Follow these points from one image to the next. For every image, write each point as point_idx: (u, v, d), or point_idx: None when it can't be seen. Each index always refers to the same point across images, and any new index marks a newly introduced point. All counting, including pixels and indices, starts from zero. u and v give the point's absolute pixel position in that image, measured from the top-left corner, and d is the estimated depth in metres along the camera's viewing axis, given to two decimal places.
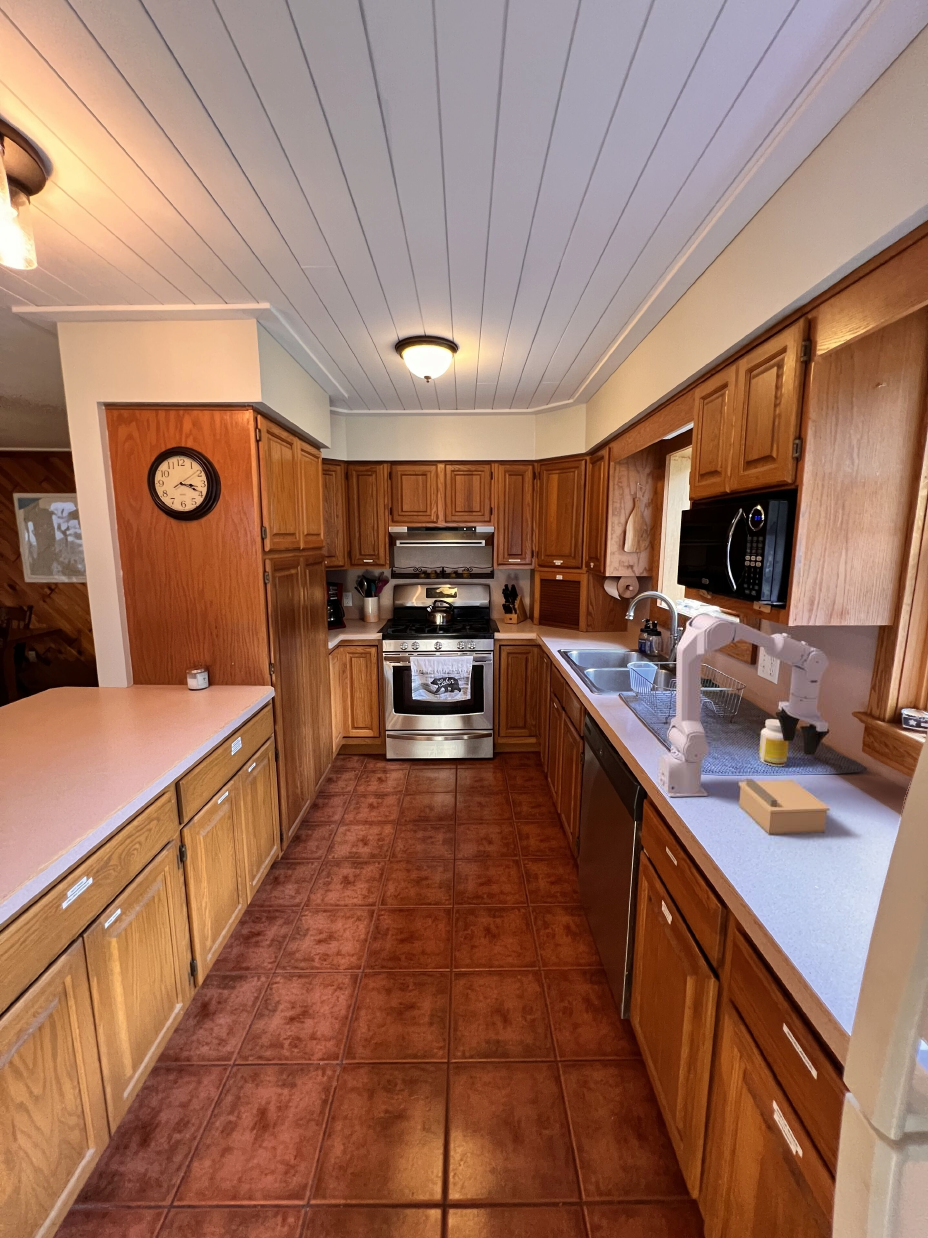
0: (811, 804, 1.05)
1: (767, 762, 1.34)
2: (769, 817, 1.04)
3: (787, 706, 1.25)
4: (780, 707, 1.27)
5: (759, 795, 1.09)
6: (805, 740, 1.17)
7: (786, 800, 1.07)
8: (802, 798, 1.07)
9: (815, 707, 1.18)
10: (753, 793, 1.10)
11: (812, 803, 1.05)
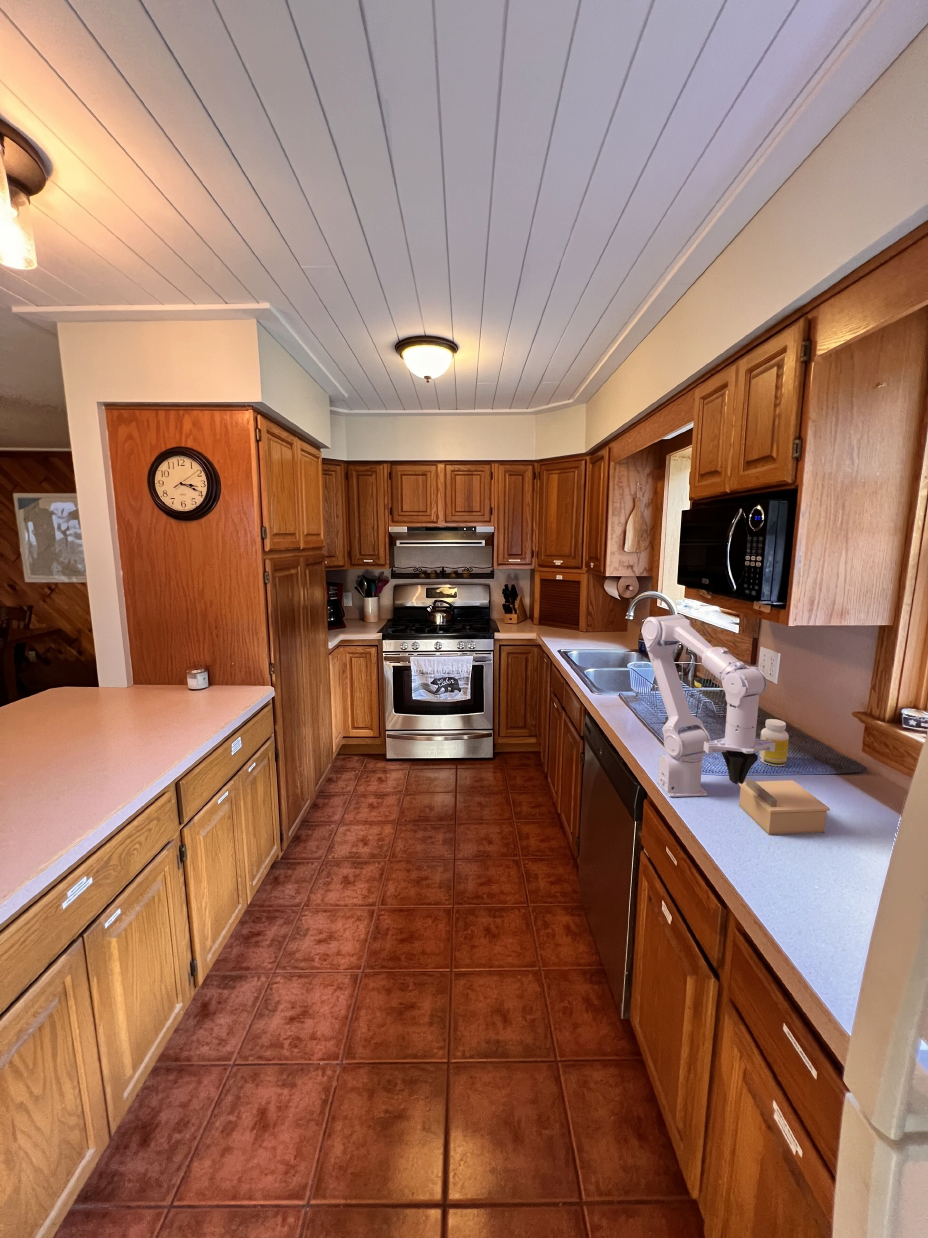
0: (811, 804, 1.05)
1: (767, 762, 1.34)
2: (769, 817, 1.04)
3: (757, 741, 1.07)
4: None
5: (759, 795, 1.09)
6: None
7: (786, 800, 1.07)
8: (802, 798, 1.07)
9: (731, 736, 1.05)
10: (753, 793, 1.10)
11: (812, 803, 1.05)
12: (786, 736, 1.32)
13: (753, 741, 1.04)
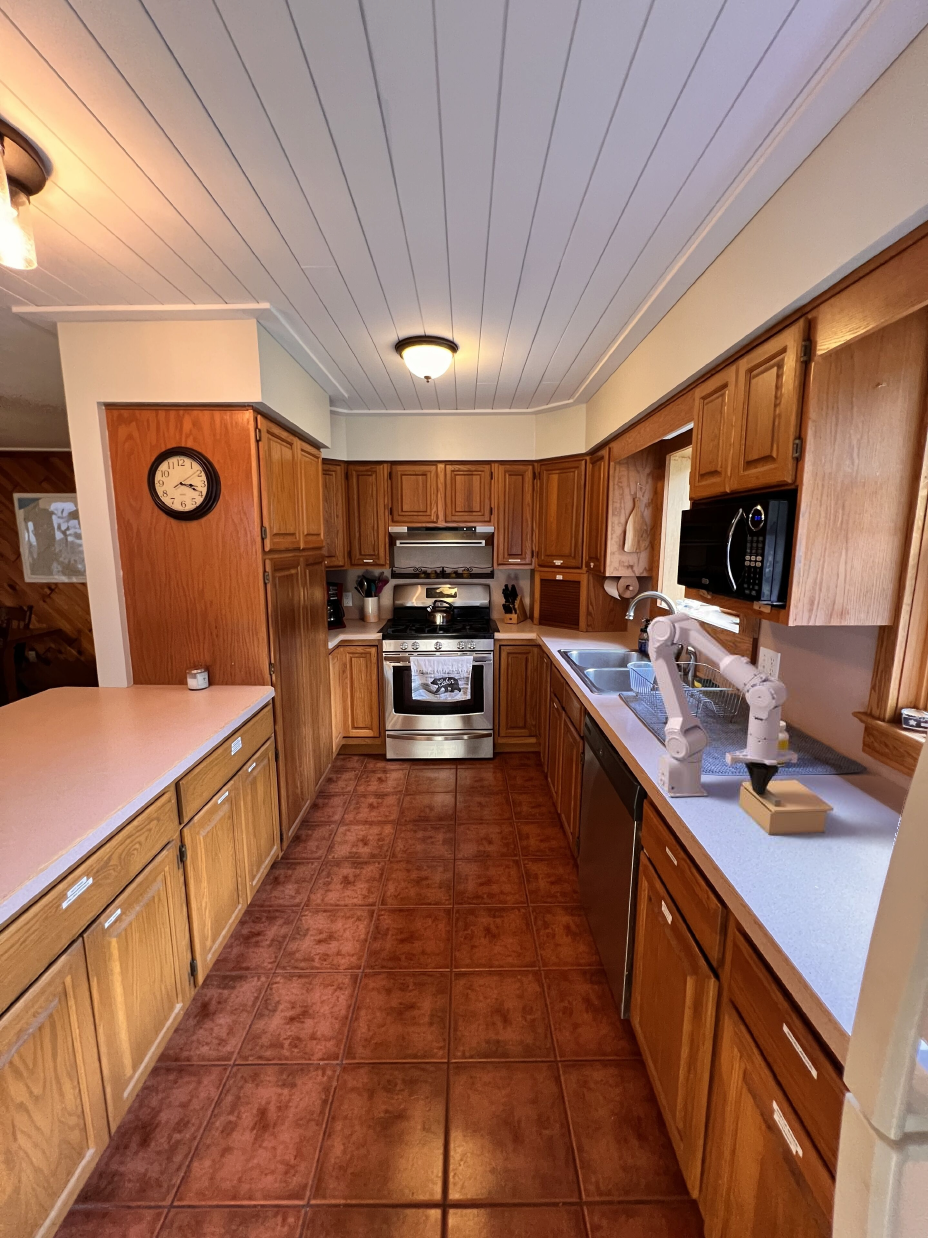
0: (815, 804, 1.05)
1: None
2: (769, 817, 1.04)
3: (779, 752, 1.08)
4: None
5: (763, 795, 1.09)
6: None
7: (790, 800, 1.07)
8: (806, 798, 1.07)
9: (753, 747, 1.06)
10: None
11: (816, 803, 1.05)
12: (786, 736, 1.32)
13: (775, 753, 1.05)
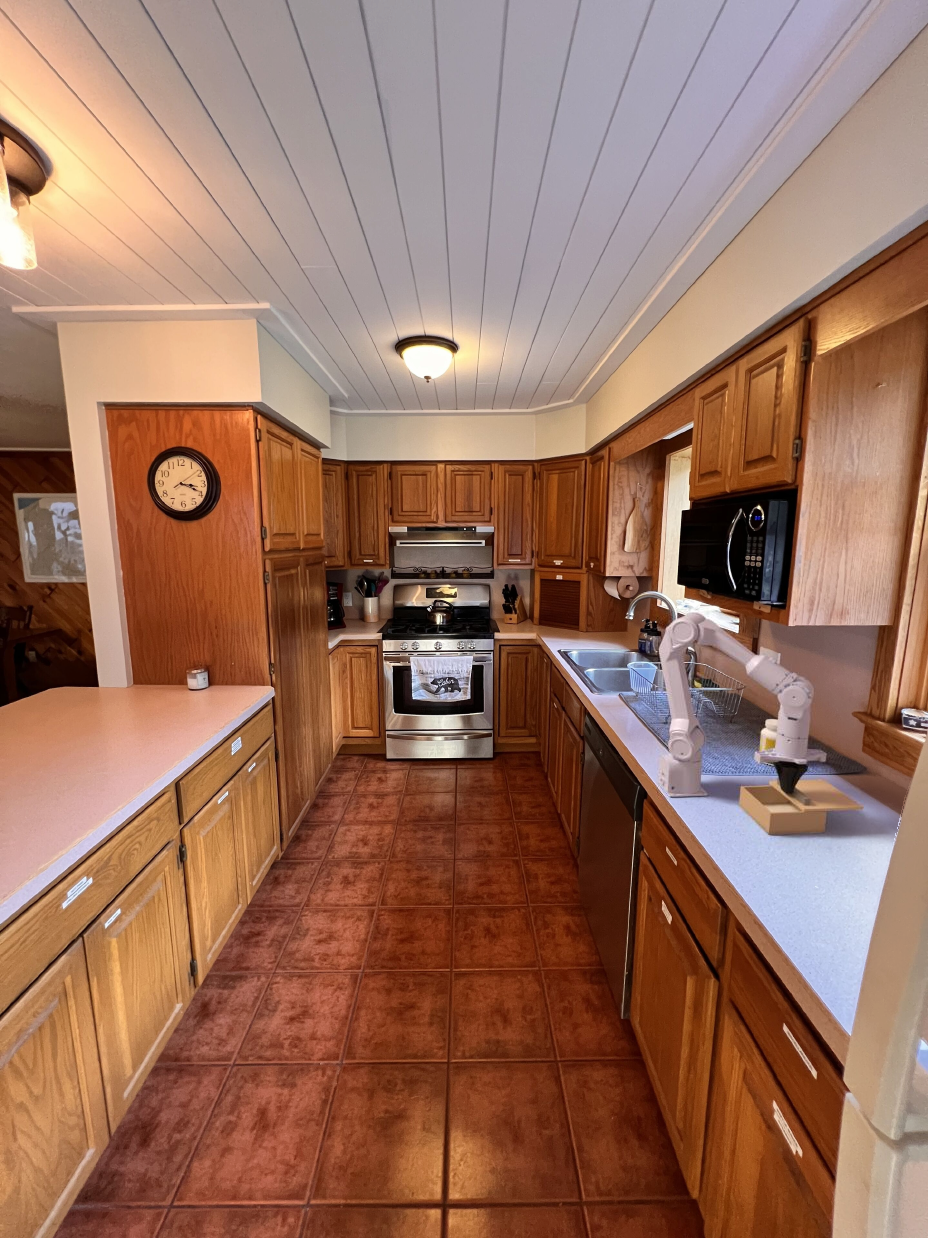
0: (844, 803, 1.05)
1: (767, 762, 1.34)
2: (769, 817, 1.04)
3: (808, 751, 1.08)
4: None
5: (791, 794, 1.09)
6: None
7: (819, 799, 1.07)
8: (834, 797, 1.08)
9: (783, 746, 1.06)
10: None
11: (845, 802, 1.06)
12: None
13: (805, 751, 1.05)
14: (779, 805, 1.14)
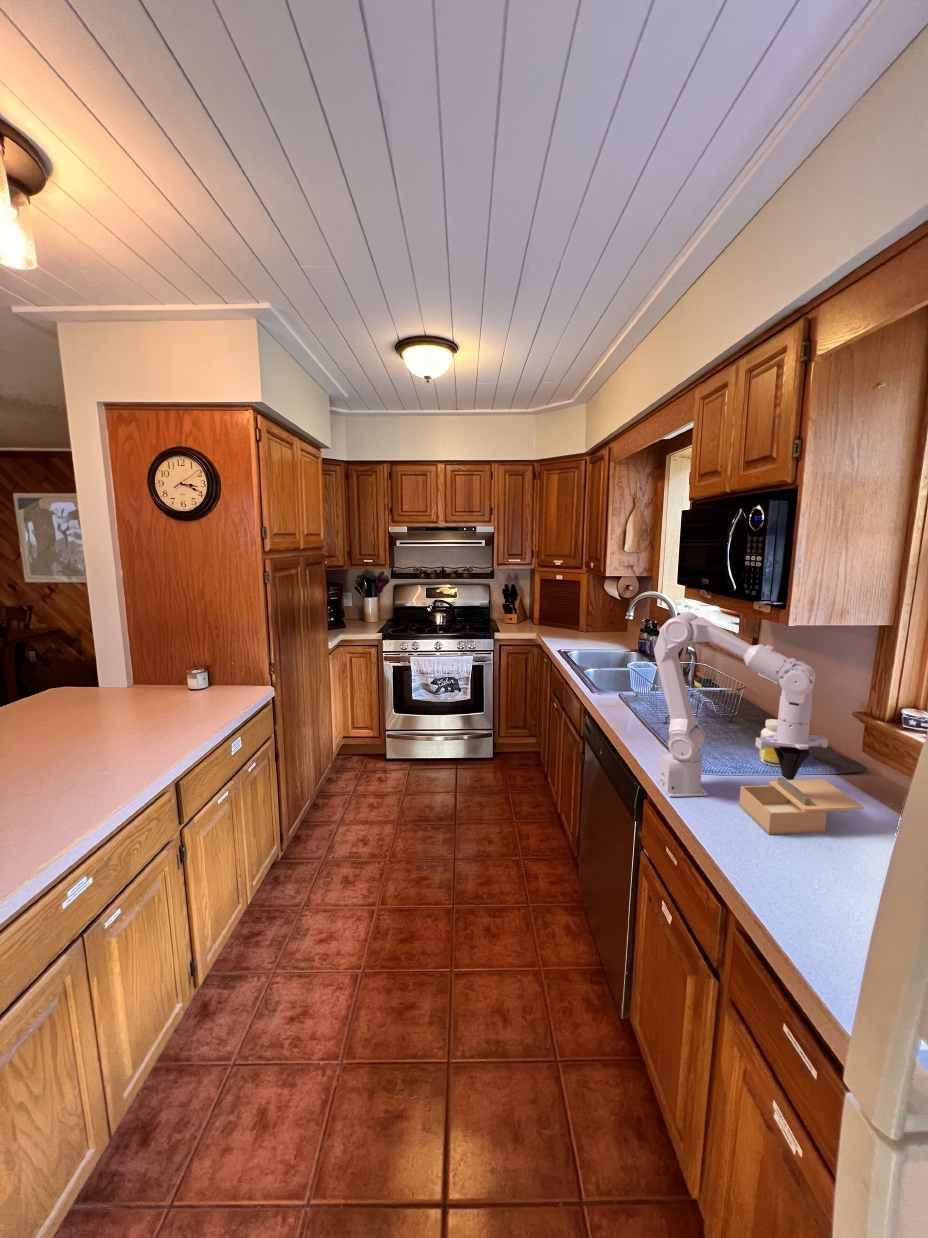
0: (845, 803, 1.05)
1: (767, 762, 1.34)
2: (769, 817, 1.04)
3: None
4: None
5: (792, 794, 1.09)
6: None
7: (819, 799, 1.07)
8: (835, 797, 1.08)
9: (784, 732, 1.05)
10: (785, 792, 1.10)
11: (846, 802, 1.06)
12: None
13: (807, 737, 1.04)
14: (779, 805, 1.14)
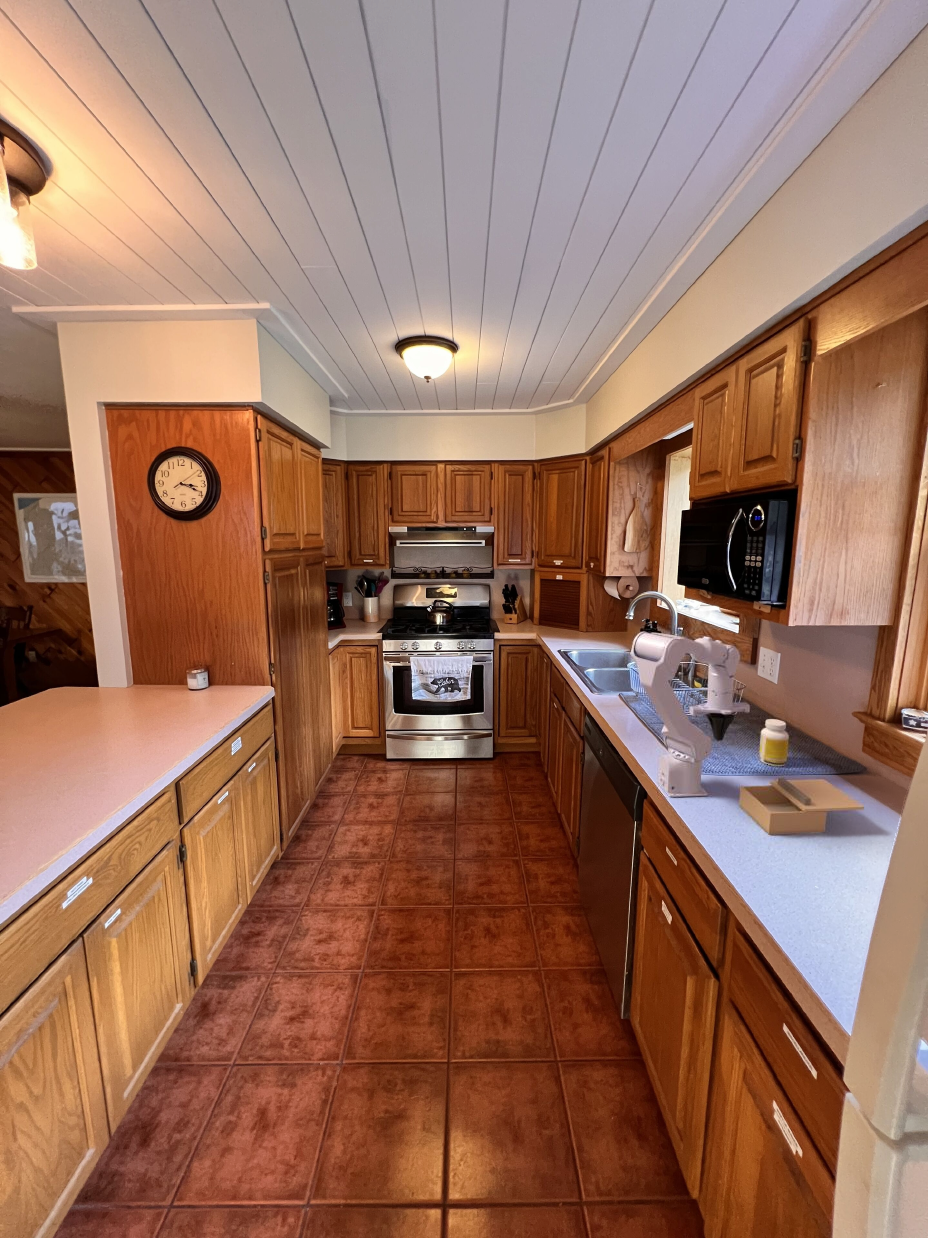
0: (845, 803, 1.05)
1: (767, 762, 1.34)
2: (769, 817, 1.04)
3: (735, 704, 1.27)
4: None
5: (792, 794, 1.09)
6: None
7: (819, 799, 1.07)
8: (835, 797, 1.08)
9: (712, 700, 1.25)
10: (785, 792, 1.10)
11: (846, 802, 1.06)
12: (786, 736, 1.32)
13: (730, 704, 1.24)
14: (779, 805, 1.14)
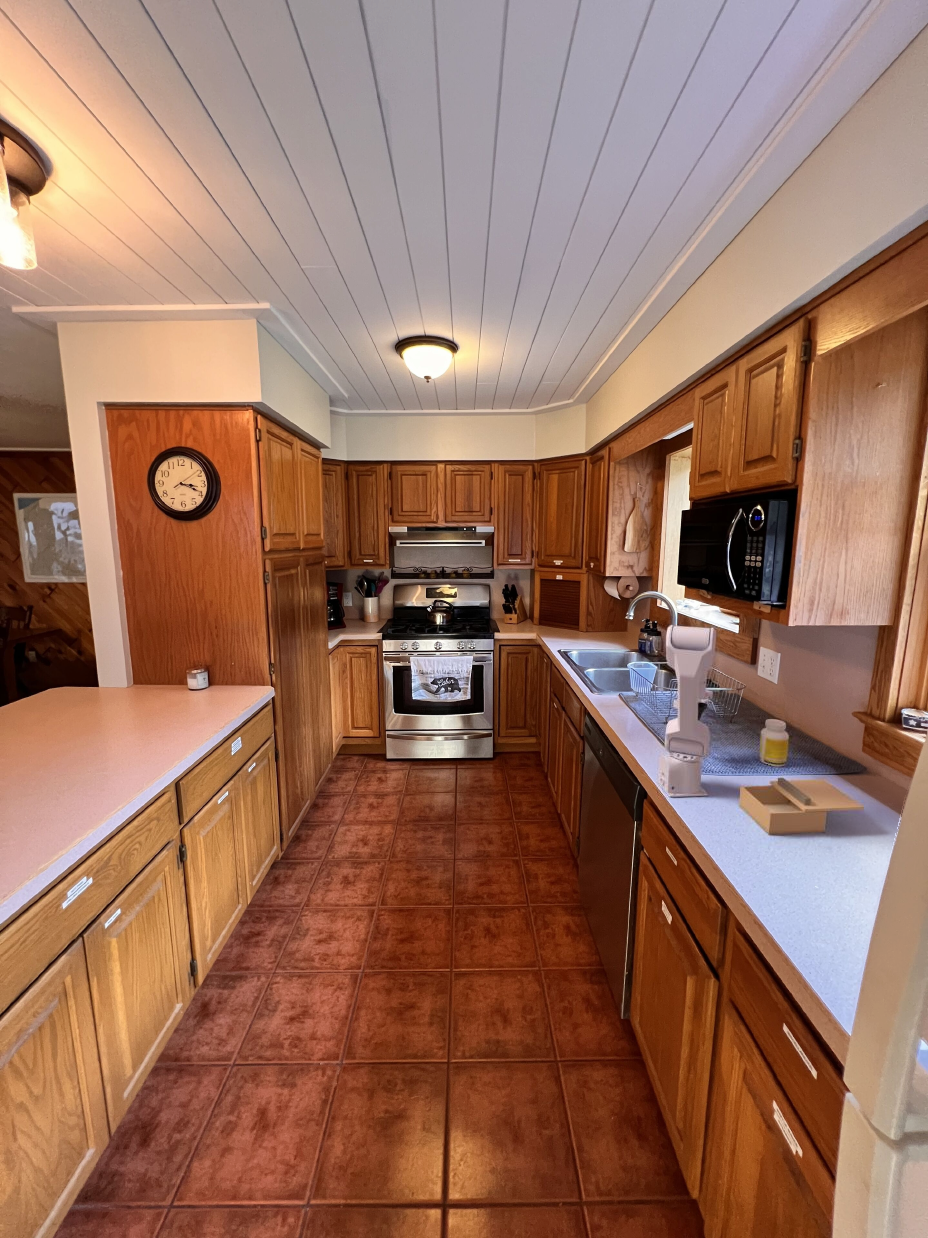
0: (845, 803, 1.05)
1: (767, 762, 1.34)
2: (769, 817, 1.04)
3: None
4: None
5: (792, 794, 1.09)
6: None
7: (819, 799, 1.07)
8: (835, 797, 1.08)
9: None
10: (785, 792, 1.10)
11: (846, 802, 1.06)
12: (786, 736, 1.32)
13: (705, 692, 1.33)
14: (779, 805, 1.14)
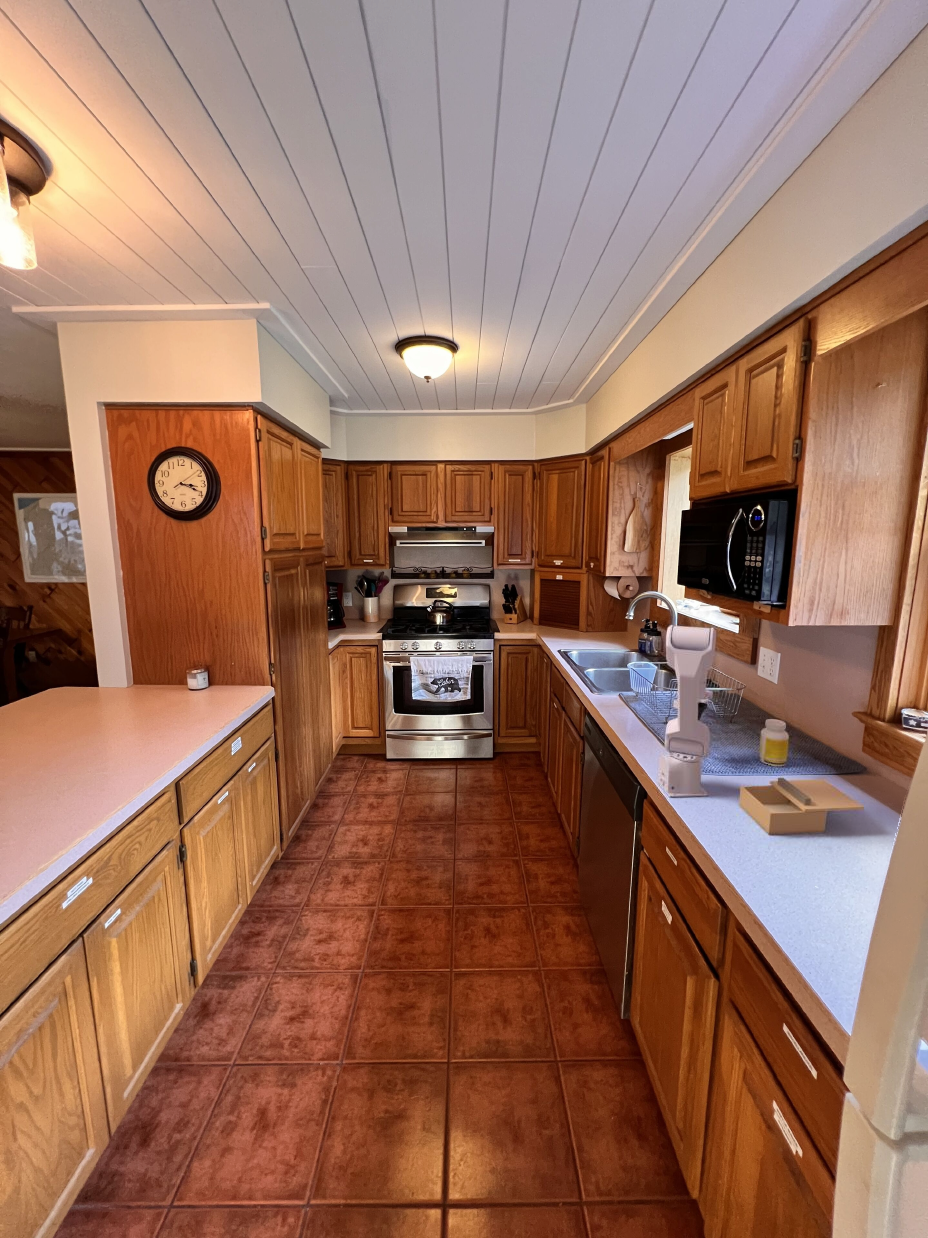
0: (845, 803, 1.05)
1: (767, 762, 1.34)
2: (769, 817, 1.04)
3: None
4: None
5: (792, 794, 1.09)
6: None
7: (819, 799, 1.07)
8: (835, 797, 1.08)
9: None
10: (785, 792, 1.10)
11: (846, 802, 1.06)
12: (786, 736, 1.32)
13: (705, 692, 1.33)
14: (779, 805, 1.14)
